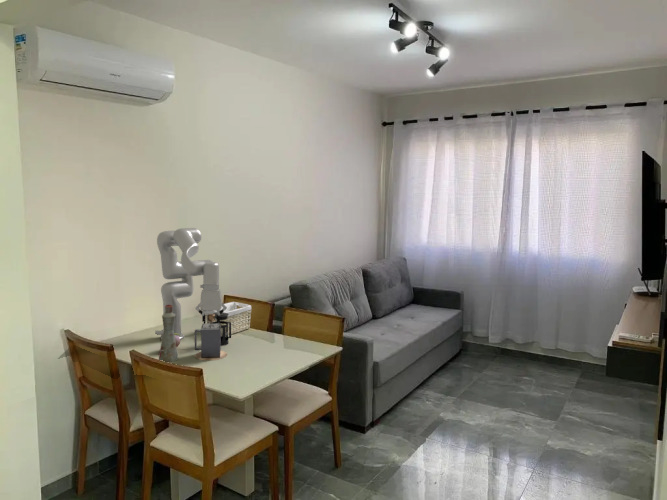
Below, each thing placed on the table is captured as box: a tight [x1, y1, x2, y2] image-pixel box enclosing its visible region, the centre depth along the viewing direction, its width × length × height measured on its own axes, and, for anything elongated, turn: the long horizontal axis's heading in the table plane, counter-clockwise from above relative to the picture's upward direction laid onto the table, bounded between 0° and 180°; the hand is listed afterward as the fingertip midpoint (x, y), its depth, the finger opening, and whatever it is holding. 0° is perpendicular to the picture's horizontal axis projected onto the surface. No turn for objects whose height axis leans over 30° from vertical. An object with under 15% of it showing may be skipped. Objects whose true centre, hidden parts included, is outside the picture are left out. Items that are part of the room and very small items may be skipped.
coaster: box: [194, 350, 228, 362], centre depth 254 cm, size 16×16×1 cm
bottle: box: [158, 305, 179, 363], centre depth 245 cm, size 9×9×28 cm
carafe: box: [194, 323, 222, 358], centre depth 253 cm, size 12×9×15 cm
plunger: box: [206, 314, 215, 327], centre depth 253 cm, size 6×6×19 cm
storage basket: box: [205, 301, 252, 336], centre depth 299 cm, size 24×16×15 cm
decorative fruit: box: [174, 333, 181, 349], centre depth 261 cm, size 9×8×10 cm
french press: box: [212, 302, 232, 347], centre depth 272 cm, size 12×9×23 cm
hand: (211, 322), depth 252 cm, fingers open, 5 cm apart
